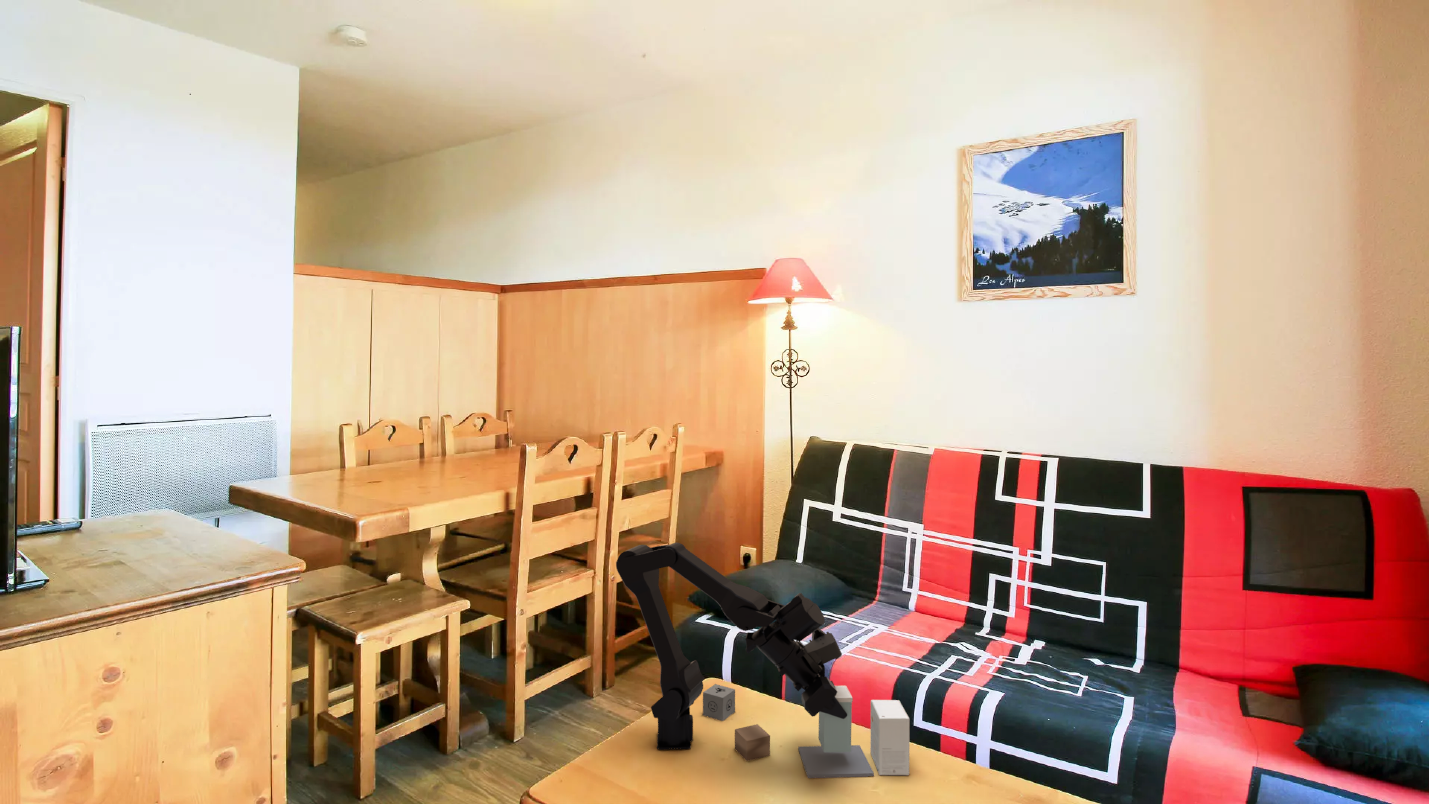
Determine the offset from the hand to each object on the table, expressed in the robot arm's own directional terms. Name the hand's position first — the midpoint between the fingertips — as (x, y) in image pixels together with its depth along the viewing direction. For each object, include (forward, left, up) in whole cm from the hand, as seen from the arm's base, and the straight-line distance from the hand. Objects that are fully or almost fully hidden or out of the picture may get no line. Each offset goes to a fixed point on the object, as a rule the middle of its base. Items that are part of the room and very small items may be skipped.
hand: (842, 710), depth 134 cm
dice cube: (-22, +21, -10) cm, 32 cm away
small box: (+9, -1, -10) cm, 13 cm away
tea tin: (-1, 0, -7) cm, 7 cm away
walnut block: (-16, +4, -10) cm, 20 cm away
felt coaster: (-1, 0, -10) cm, 10 cm away
